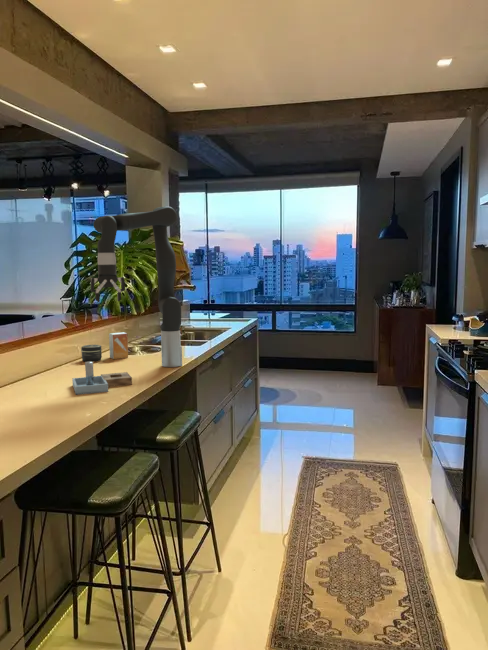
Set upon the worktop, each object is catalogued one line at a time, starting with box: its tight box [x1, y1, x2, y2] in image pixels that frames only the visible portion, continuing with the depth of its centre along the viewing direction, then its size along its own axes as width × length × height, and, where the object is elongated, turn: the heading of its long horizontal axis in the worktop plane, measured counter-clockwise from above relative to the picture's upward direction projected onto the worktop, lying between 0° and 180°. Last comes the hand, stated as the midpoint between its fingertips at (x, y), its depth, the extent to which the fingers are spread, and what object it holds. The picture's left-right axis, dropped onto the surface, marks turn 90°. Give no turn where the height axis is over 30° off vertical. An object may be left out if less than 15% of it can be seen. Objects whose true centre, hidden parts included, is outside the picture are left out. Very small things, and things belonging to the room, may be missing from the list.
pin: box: [84, 362, 95, 386], centre depth 199 cm, size 3×3×10 cm
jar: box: [80, 344, 103, 363], centre depth 257 cm, size 10×10×8 cm
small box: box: [108, 331, 129, 360], centre depth 264 cm, size 8×6×13 cm
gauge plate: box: [100, 371, 133, 388], centre depth 208 cm, size 11×11×3 cm
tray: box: [72, 375, 109, 396], centre depth 199 cm, size 12×16×3 cm
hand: (108, 301), depth 216 cm, fingers open, 8 cm apart
